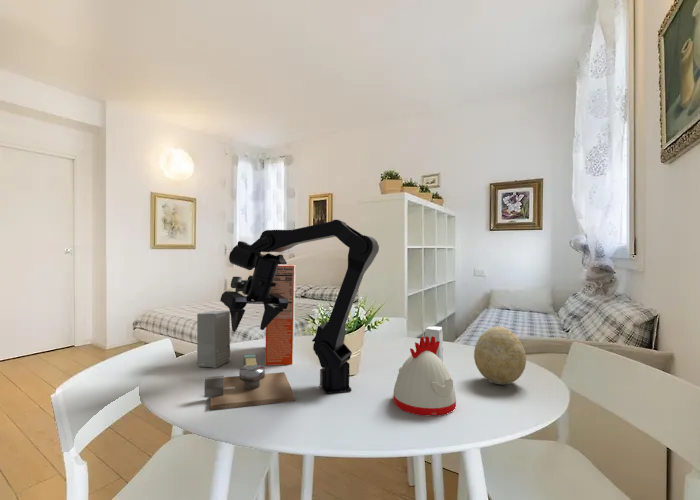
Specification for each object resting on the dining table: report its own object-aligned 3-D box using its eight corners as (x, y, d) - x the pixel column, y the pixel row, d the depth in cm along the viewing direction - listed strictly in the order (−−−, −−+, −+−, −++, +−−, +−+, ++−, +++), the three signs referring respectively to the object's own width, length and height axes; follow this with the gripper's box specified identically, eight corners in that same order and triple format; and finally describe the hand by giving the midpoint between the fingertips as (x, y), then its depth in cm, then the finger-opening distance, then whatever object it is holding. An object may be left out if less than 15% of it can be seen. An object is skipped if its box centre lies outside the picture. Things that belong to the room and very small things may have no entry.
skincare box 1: (216, 368, 104) (217, 314, 104) (194, 367, 105) (195, 312, 106) (231, 360, 112) (232, 309, 113) (210, 359, 114) (211, 309, 114)
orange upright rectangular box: (271, 346, 131) (273, 264, 132) (294, 346, 132) (295, 264, 133) (265, 365, 108) (267, 265, 109) (292, 364, 109) (294, 266, 110)
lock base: (283, 374, 100) (283, 356, 100) (294, 400, 82) (295, 378, 82) (208, 380, 94) (208, 361, 94) (202, 411, 75) (203, 387, 76)
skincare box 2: (440, 372, 104) (440, 330, 104) (424, 370, 106) (425, 328, 106) (443, 366, 109) (443, 326, 110) (428, 364, 111) (429, 325, 112)
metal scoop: (265, 380, 85) (266, 371, 85) (239, 382, 84) (239, 373, 84) (260, 361, 101) (260, 353, 101) (238, 363, 99) (238, 355, 99)
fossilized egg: (477, 372, 104) (477, 320, 104) (525, 379, 98) (526, 324, 99) (470, 386, 93) (471, 328, 93) (525, 395, 87) (526, 333, 87)
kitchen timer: (469, 408, 79) (469, 340, 79) (421, 421, 72) (422, 346, 73) (426, 388, 91) (427, 328, 91) (381, 397, 84) (382, 333, 85)
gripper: (272, 269, 109) (258, 318, 110) (217, 263, 94) (201, 319, 95) (296, 281, 102) (281, 333, 103) (241, 276, 87) (223, 337, 88)
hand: (248, 330), depth 98 cm, fingers open, 9 cm apart
